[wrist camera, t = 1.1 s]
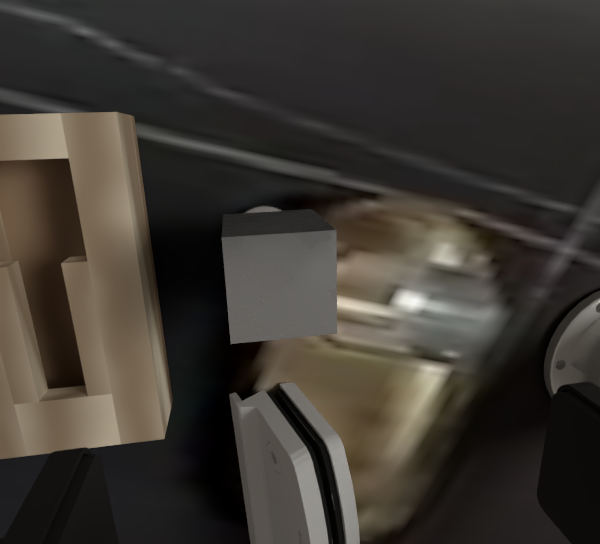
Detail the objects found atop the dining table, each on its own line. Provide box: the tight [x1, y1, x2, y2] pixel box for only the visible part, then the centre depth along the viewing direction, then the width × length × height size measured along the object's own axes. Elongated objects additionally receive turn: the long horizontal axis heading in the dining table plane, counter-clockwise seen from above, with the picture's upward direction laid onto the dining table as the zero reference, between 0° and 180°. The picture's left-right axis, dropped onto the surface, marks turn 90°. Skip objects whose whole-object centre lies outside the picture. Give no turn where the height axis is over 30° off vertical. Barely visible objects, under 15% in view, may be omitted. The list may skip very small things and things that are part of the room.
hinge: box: [229, 383, 360, 544], centre depth 32 cm, size 17×5×10 cm, turn 4°
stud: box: [222, 205, 337, 344], centre depth 25 cm, size 5×5×11 cm
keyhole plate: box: [0, 112, 173, 459], centre depth 27 cm, size 11×20×4 cm, turn 2°
